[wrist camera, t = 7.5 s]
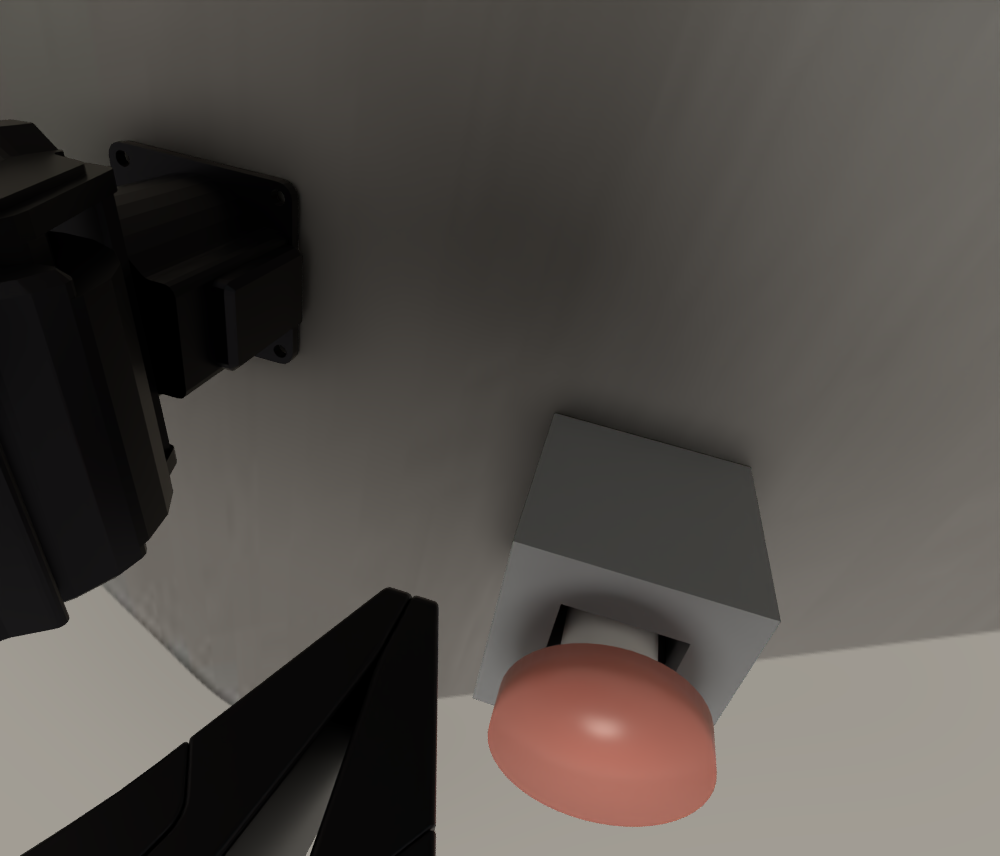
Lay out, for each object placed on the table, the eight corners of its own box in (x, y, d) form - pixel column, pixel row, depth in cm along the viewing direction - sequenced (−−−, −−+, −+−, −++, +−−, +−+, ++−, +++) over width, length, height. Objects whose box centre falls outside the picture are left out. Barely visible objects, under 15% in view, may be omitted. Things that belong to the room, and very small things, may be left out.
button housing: (517, 553, 26) (472, 698, 20) (554, 412, 22) (512, 540, 16) (682, 603, 25) (686, 768, 19) (751, 467, 22) (781, 621, 16)
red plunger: (525, 588, 24) (472, 782, 17) (558, 471, 20) (509, 655, 14) (671, 633, 23) (671, 850, 17) (728, 520, 20) (755, 734, 14)
